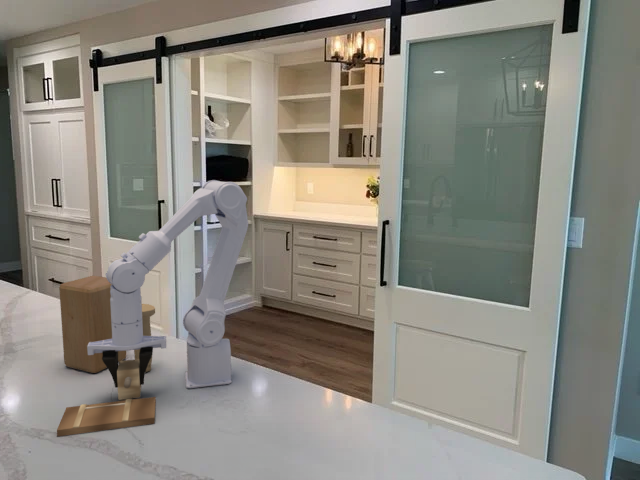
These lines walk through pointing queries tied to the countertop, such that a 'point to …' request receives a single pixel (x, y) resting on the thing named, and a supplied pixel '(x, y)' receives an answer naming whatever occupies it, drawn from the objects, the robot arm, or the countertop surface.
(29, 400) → the countertop surface
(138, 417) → the walnut board
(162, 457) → the countertop surface
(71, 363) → the wooden block
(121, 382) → the pale wood holed block
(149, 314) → the handle
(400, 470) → the countertop surface
